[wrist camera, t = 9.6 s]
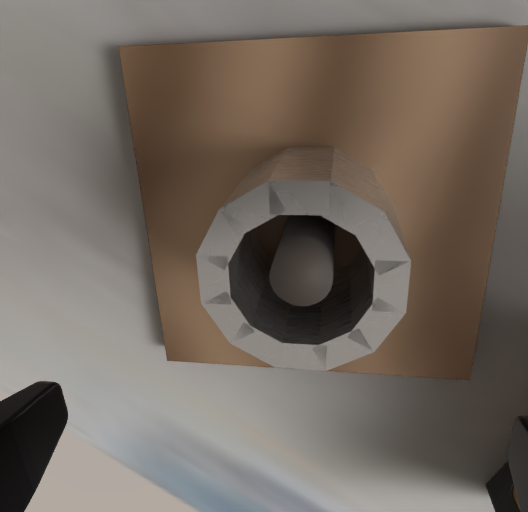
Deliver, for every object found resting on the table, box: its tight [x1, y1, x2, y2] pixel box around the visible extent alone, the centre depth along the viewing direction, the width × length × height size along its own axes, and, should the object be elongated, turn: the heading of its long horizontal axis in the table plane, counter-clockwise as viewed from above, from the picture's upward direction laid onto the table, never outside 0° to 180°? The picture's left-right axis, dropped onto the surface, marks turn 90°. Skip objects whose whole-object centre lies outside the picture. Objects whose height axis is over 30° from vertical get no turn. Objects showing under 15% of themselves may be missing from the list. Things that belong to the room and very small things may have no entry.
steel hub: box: [196, 146, 411, 371], centre depth 16 cm, size 6×6×5 cm
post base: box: [119, 25, 528, 380], centre depth 17 cm, size 14×14×6 cm
